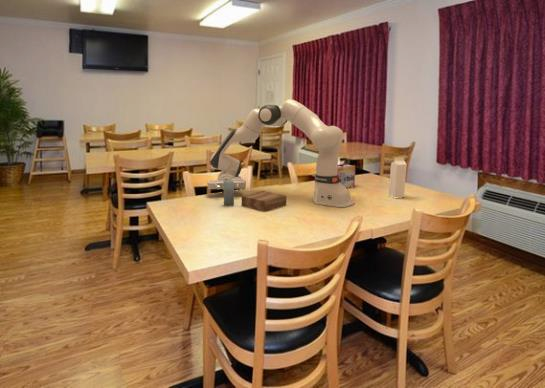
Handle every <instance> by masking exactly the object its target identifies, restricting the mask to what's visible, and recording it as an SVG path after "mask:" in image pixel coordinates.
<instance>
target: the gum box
mask: <svg viewBox="0 0 545 388" xmlns="http://www.w3.org/2000/svg"><path fill="white" fill-rule="evenodd" d="M337 175H338V176H339V177H342V178H341V179H340V183H341V184H342V185H343V186H344V187H350V186H355V184H356V182H355V181H356V165H355V164H354V165H350V164H349V163H344V164H343V163H341V164H338V169H337ZM350 188H351V187H350Z"/></svg>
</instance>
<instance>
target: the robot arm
mask: <svg viewBox="0 0 545 388" xmlns="http://www.w3.org/2000/svg"><path fill="white" fill-rule="evenodd" d="M287 122H290V123H291V124H292V125H294V127H296V128H297V129H299V130H300V131H302V133H303V134H305V136H306V137H307V138H308V139H309V141H311V144H312V145H313V146H314V147H315V148H317V149H319V152H318V155H317V157H316V164H315V165H316V167H315V174H314V183H315V184H314V191H313V195H312V198H311V201H312V202H313V203H314V204H315V205H321V206H322V205H323V206H329V207H335V208H347V207H351V206H353V205H354V203H355V200H352V198H351V193H350V190H349V189H348V188H345V187H344V186H343V185H342V184H341V183H340V179H341V178H342V177H339V176H338V175H337V169H338V165H339V157H340V152H341V148H342V142H343V141H344V132H343V130H342V129H341V128H340V127H338V126H336V125H330V126H328V125H326V124H325V123H324V122H323V121H322V120H321V119H320V118H319V116H318V115H317V114H316V113H314V111H312V110H310V109H309V108H308V107H306V106H305V105H304V104H302V103H300V102H298V100H297V101H296V100H294V99H293V98H290V99H289V98H288V99H286V100H284V102H283V103H282V104H281V105H276V104H266V105H263V106H262V107H261V108H253V109H252V110H251V111H250V112H249V113H248V115H247V116H246V118H245V119H244V121H243V123H242V124H241V126H239V127H238V128H234V129H233V130H231V131H230V133H228V135H227V136H226V138H225V139H224V140H223V141H222V143H221V144H220V145H219V147H218V148H217V149H216V150H215V152H213V153H212V155H211V156H210V159H209V163H210V165H211V168H213V169H216V170H220V171H221V172H220V173H219V174H218V175H217V180H216V179H215V180H214V179H213V180H209V181H208V182H207V188H208V189H209V190H222V191H224V181H234V190H238V189H245V188H246V180H245V179H243V178H242V176H241V175H240V174H241V171H242V168H243V167H242V162H241V160H239V159H238V158H235V157H233V156H230V155H228V154H226V153H225V152H226V151H227V150H228V148H229V147H230V146H231V144H233V143H253V142H255V141H256V140H257V139H258V138H259V137H260V135H261V132H262V131H263V128H265V126H271V127H280V126H281V127H282V126H284V125H286V124H287Z"/></svg>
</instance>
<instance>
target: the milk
mask: <svg viewBox="0 0 545 388" xmlns="http://www.w3.org/2000/svg"><path fill="white" fill-rule="evenodd" d="M407 166H408V164H407V163H406V161H405V158H404V157H394V159H393V161H392V162H391V163H390V173H389V184H388V196H389V195H390V196H393V197H405V189H406V188H405V187H406V177H407Z"/></svg>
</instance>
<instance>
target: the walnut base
mask: <svg viewBox="0 0 545 388" xmlns="http://www.w3.org/2000/svg"><path fill="white" fill-rule="evenodd" d="M241 206H242V207H246V208H249V209H253V210H256V211H257V210H258V211H262V212H265V213H266V212H268V211H272V210H277V209H279V208H282V207H285V206H287V195H285V194H281V193H275V192H271V191H266V190H260V191H257V192H253V193H249V194H245V195H241Z"/></svg>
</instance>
